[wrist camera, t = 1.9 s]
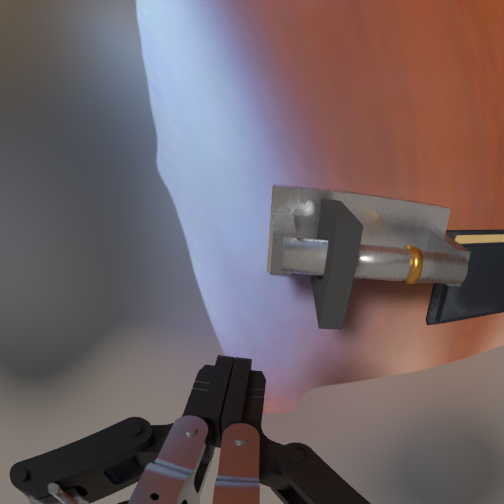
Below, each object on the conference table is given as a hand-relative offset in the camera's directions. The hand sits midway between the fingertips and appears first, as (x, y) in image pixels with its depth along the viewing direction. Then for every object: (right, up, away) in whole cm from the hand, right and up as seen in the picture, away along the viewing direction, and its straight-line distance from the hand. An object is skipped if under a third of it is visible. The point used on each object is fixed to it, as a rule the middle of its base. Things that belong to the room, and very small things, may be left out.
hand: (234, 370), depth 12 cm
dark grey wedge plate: (+9, +6, +17) cm, 20 cm away
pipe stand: (+14, +7, +20) cm, 25 cm away
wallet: (+36, +2, +21) cm, 41 cm away
